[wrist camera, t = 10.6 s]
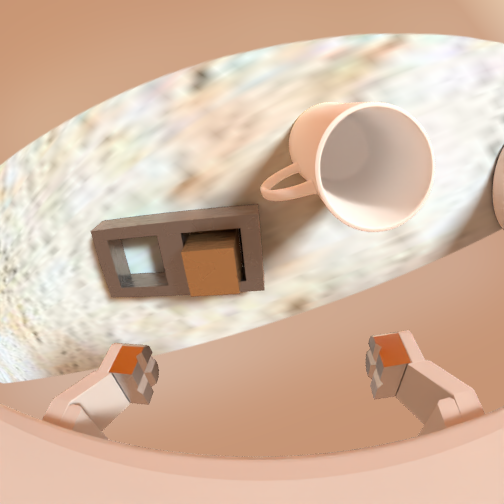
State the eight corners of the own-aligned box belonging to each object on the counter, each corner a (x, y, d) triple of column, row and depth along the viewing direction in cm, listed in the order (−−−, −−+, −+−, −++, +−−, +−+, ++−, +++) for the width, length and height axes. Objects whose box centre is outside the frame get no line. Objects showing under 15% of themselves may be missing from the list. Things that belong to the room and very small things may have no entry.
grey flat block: (257, 204, 30) (258, 213, 27) (263, 275, 33) (264, 290, 30) (103, 220, 31) (90, 231, 28) (121, 283, 34) (111, 297, 31)
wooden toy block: (237, 222, 31) (233, 247, 25) (242, 262, 33) (239, 293, 27) (193, 226, 31) (181, 252, 25) (201, 265, 33) (191, 296, 27)
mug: (271, 208, 30) (279, 267, 19) (242, 125, 26) (233, 134, 16) (381, 176, 28) (444, 216, 17) (361, 94, 25) (424, 88, 14)
